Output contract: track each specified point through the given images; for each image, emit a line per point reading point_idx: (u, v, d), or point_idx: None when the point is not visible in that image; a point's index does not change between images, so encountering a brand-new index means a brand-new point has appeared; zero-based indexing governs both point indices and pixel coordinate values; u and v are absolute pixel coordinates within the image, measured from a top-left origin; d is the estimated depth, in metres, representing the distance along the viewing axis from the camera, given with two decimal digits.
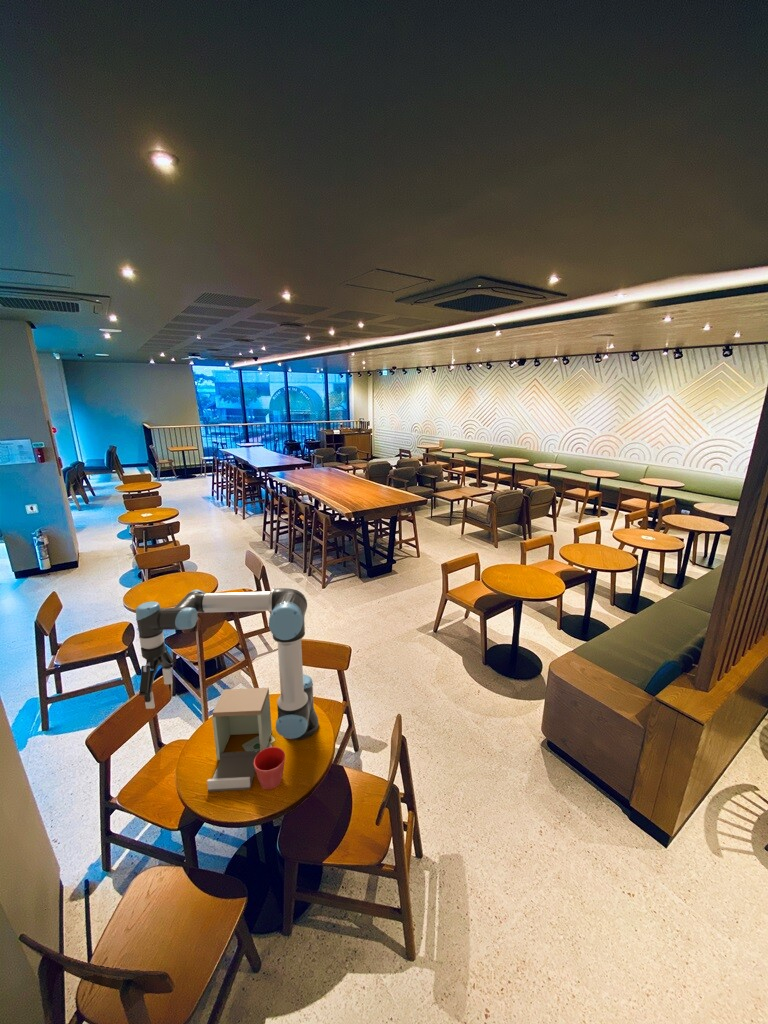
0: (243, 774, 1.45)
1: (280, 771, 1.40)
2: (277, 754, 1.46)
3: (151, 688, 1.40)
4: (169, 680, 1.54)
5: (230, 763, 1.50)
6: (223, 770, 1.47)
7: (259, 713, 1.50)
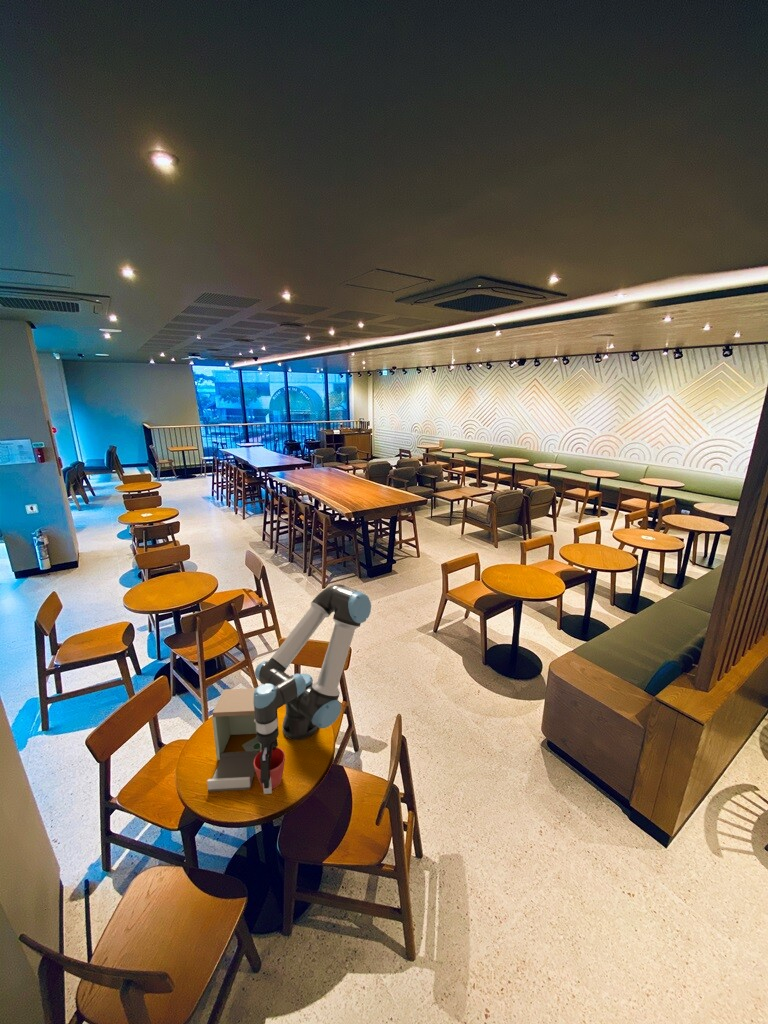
0: (243, 774, 1.45)
1: (280, 771, 1.40)
2: (277, 754, 1.46)
3: (269, 773, 1.37)
4: None
5: (230, 763, 1.50)
6: (223, 770, 1.47)
7: None
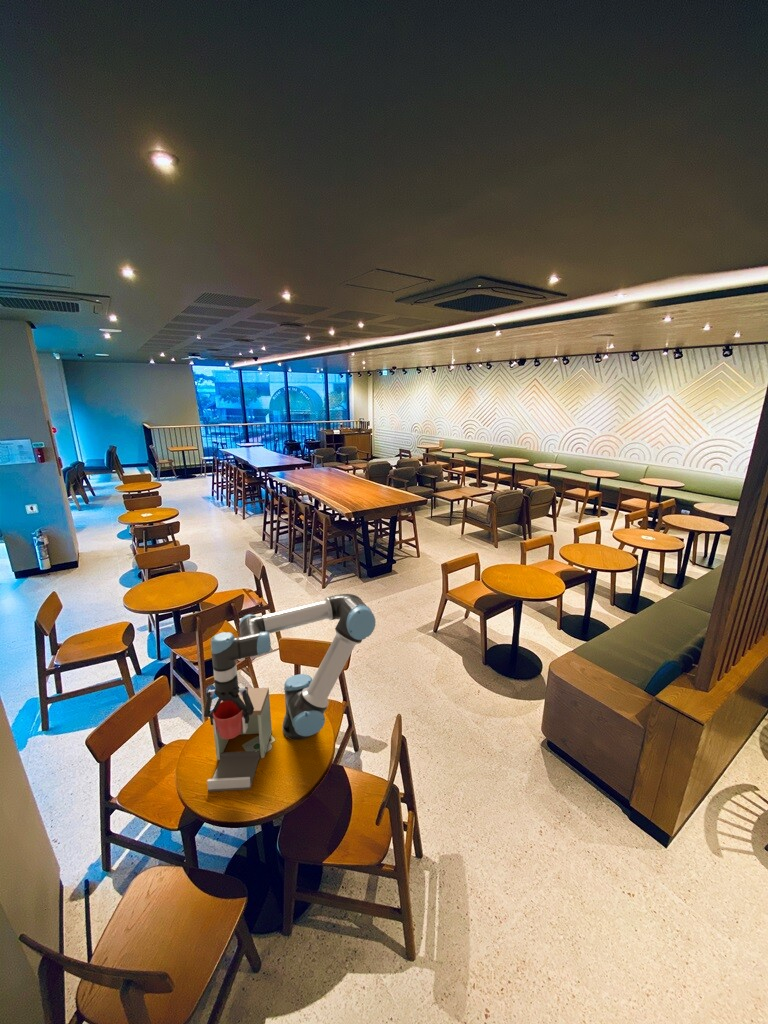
0: (243, 774, 1.45)
1: (217, 725, 1.37)
2: None
3: None
4: None
5: (230, 763, 1.50)
6: (223, 770, 1.47)
7: (259, 713, 1.50)
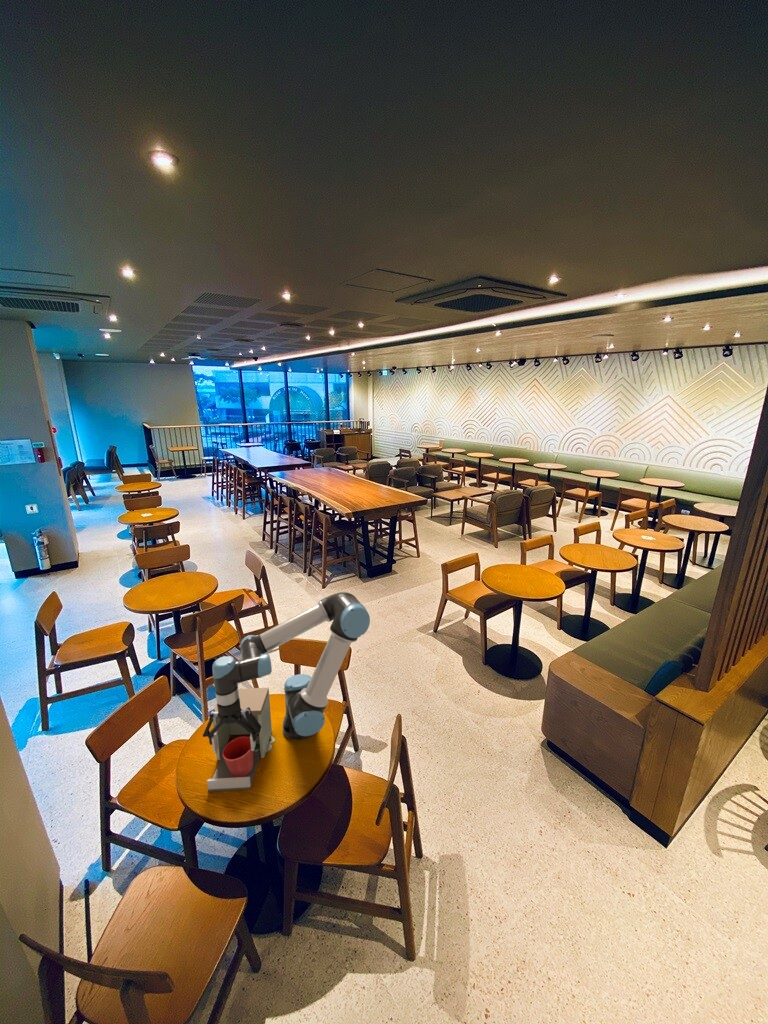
0: None
1: (227, 765, 1.41)
2: None
3: (212, 735, 1.42)
4: None
5: None
6: (223, 770, 1.47)
7: (259, 713, 1.50)
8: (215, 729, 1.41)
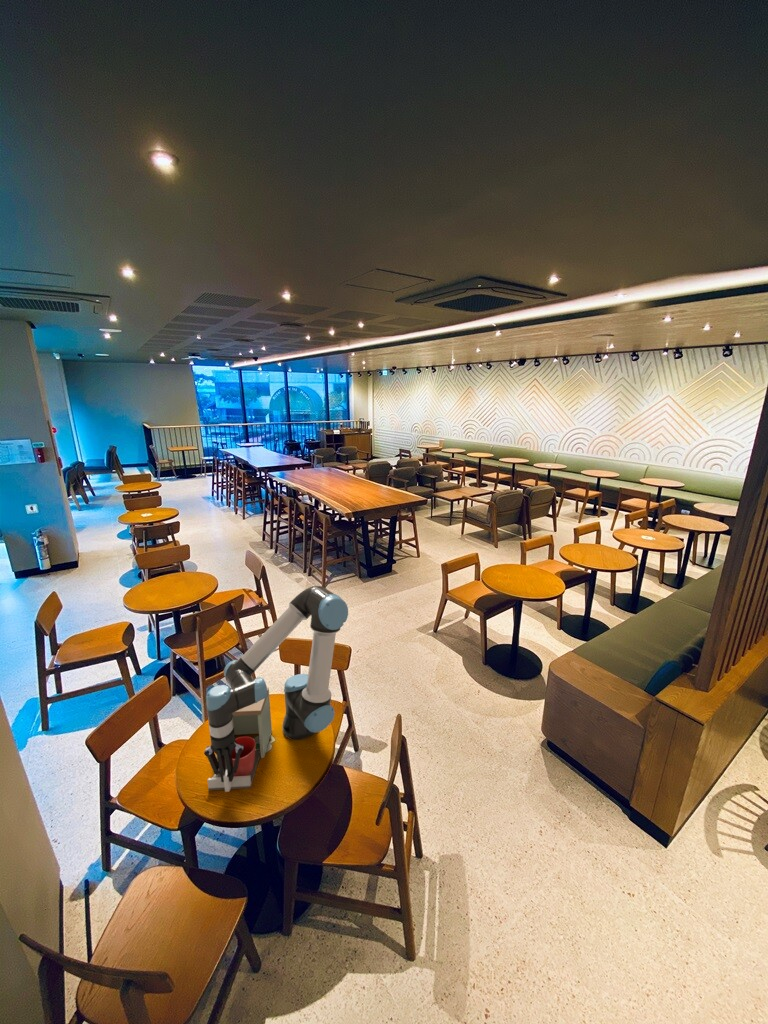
0: None
1: None
2: None
3: (222, 771, 1.35)
4: None
5: None
6: None
7: (259, 713, 1.50)
8: (220, 765, 1.35)
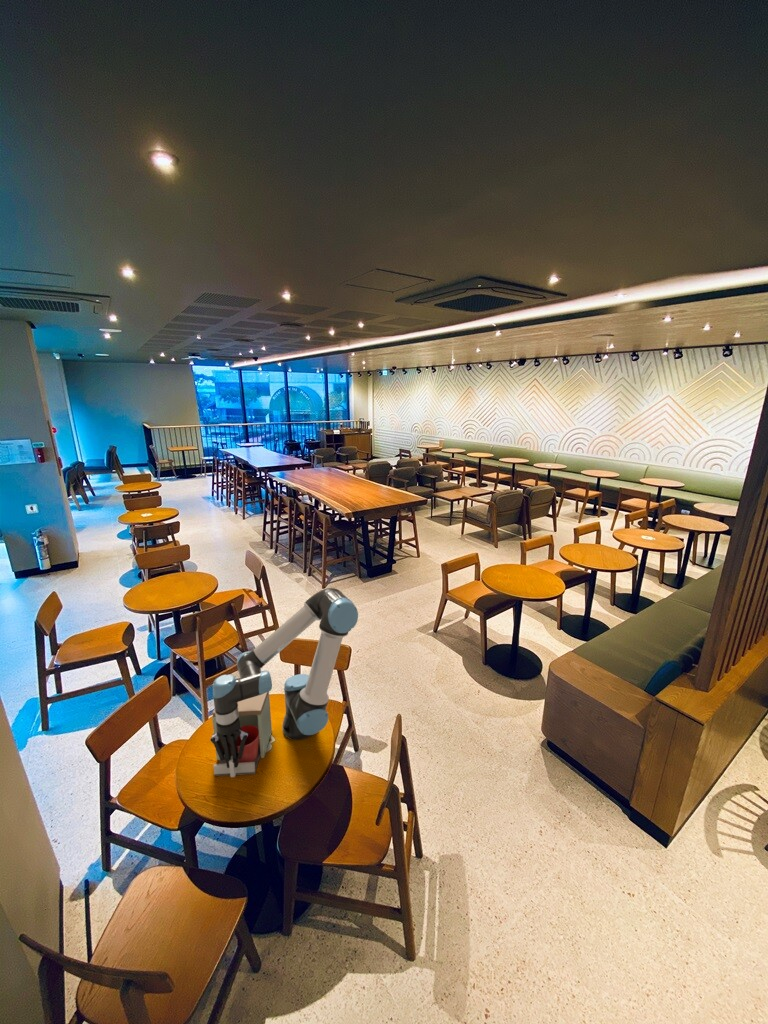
0: None
1: None
2: None
3: (228, 757, 1.41)
4: None
5: None
6: None
7: (259, 713, 1.50)
8: (226, 751, 1.40)
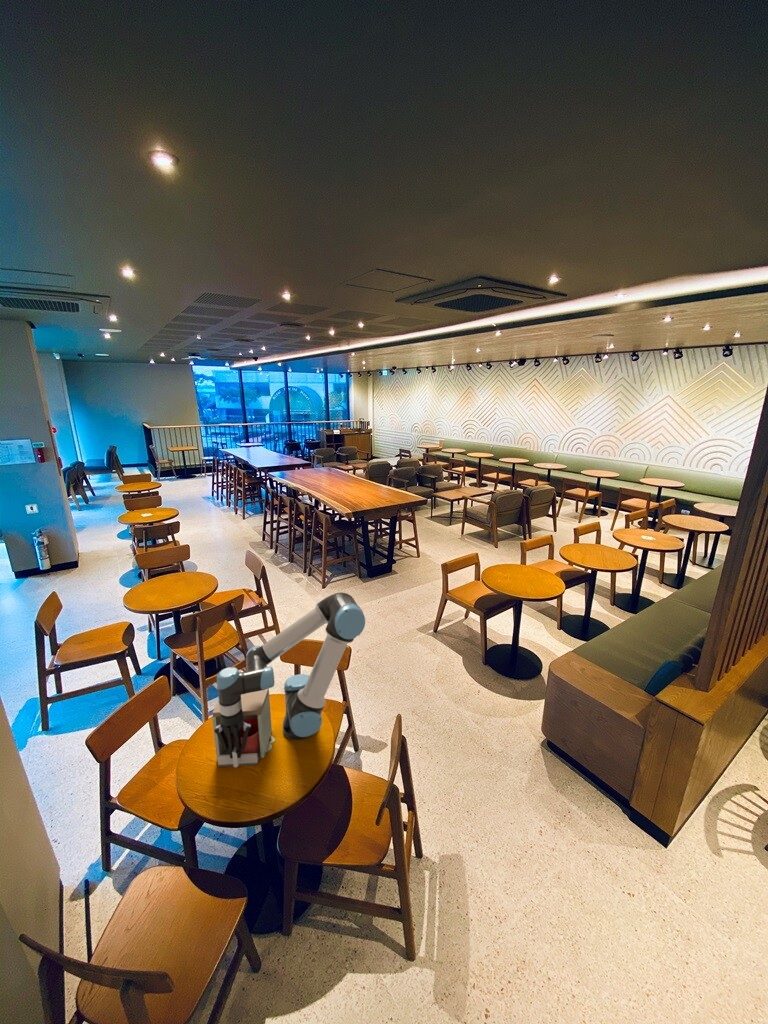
0: None
1: None
2: None
3: (231, 748, 1.45)
4: None
5: None
6: None
7: (259, 713, 1.50)
8: (229, 742, 1.45)
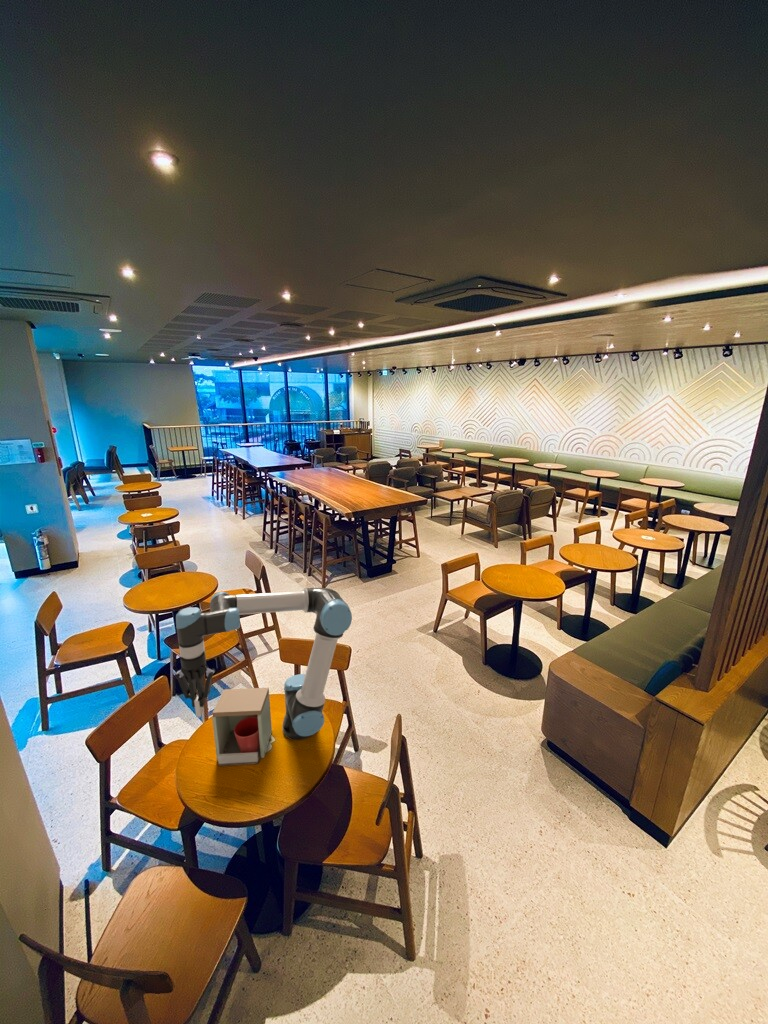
0: None
1: (238, 741, 1.52)
2: None
3: (193, 695, 1.34)
4: None
5: None
6: (232, 747, 1.58)
7: (259, 713, 1.50)
8: (191, 688, 1.34)
